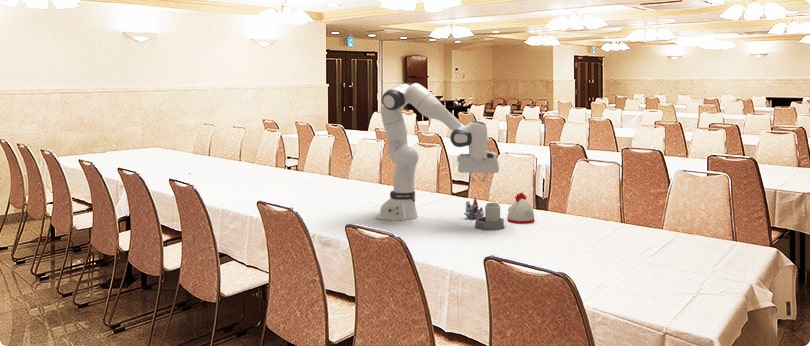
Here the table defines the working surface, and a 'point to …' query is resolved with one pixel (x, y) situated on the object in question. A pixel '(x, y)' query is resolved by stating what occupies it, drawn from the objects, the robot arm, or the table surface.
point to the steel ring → (489, 224)
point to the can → (492, 212)
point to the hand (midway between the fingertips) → (478, 181)
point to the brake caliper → (473, 210)
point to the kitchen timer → (520, 211)
